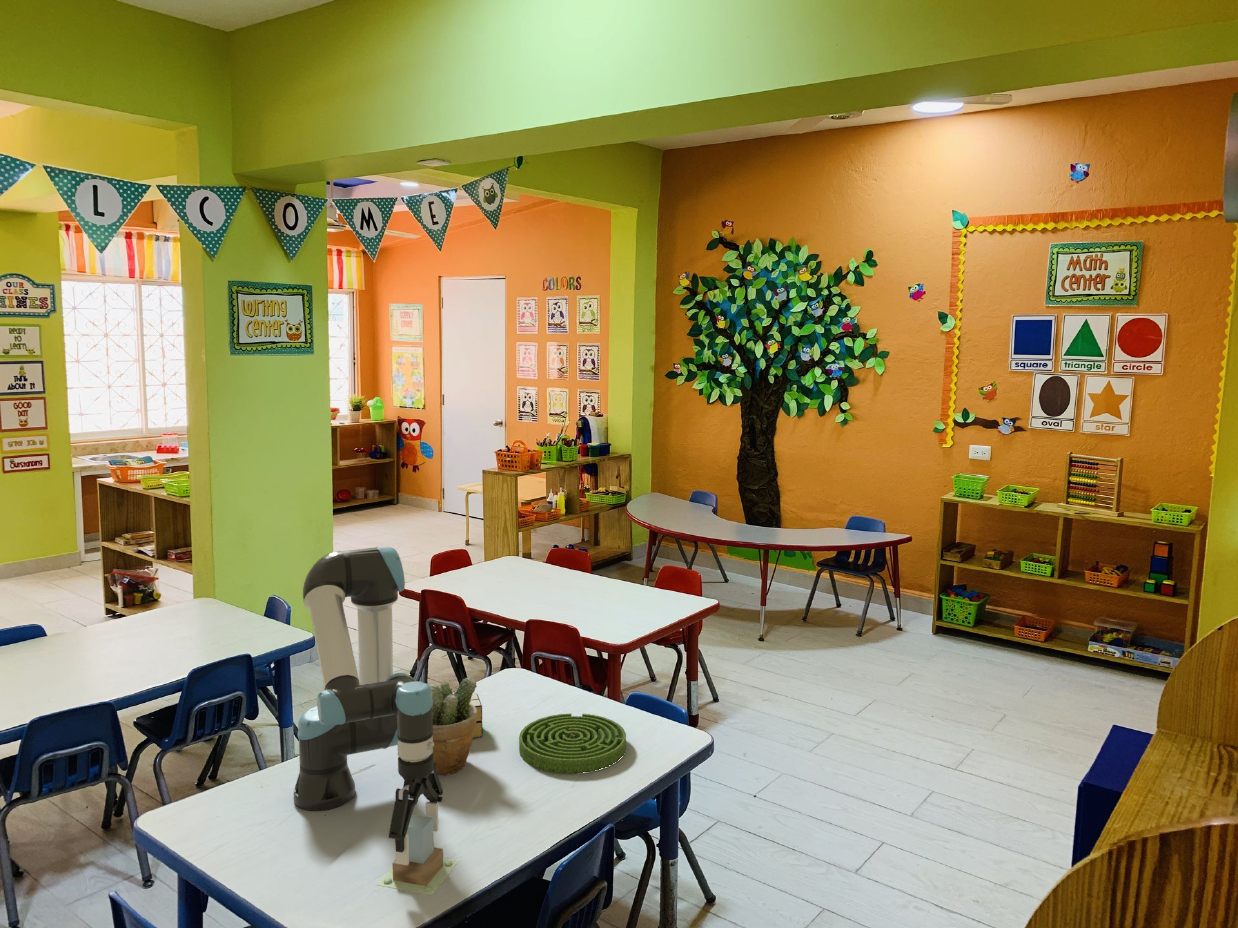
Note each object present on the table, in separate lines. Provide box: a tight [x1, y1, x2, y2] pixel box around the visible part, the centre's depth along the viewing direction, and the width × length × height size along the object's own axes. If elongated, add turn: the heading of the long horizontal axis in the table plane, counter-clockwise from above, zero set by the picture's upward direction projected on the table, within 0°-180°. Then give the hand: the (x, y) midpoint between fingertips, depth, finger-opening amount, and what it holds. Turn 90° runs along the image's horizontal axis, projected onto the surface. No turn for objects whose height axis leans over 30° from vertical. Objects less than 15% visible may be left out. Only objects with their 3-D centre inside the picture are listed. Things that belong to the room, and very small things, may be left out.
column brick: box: [406, 813, 435, 864], centre depth 196 cm, size 5×5×8 cm
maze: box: [518, 713, 627, 775], centre depth 259 cm, size 31×31×5 cm
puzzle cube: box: [470, 692, 483, 739], centre depth 269 cm, size 10×10×10 cm
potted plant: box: [428, 677, 477, 776], centre depth 247 cm, size 18×19×25 cm
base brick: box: [392, 846, 444, 886], centre depth 197 cm, size 8×8×4 cm
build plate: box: [376, 857, 459, 896], centre depth 197 cm, size 13×13×1 cm
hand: (417, 846), depth 196 cm, fingers open, 13 cm apart
